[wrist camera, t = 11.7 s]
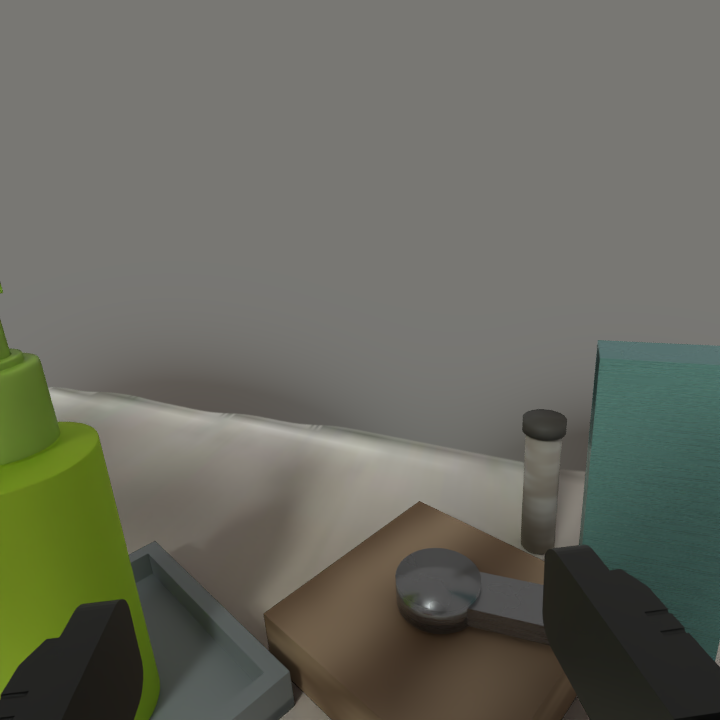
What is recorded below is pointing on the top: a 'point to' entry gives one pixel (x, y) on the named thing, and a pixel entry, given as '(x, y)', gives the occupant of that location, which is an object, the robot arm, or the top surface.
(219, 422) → the top surface
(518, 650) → the crank base
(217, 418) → the top surface
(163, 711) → the tray
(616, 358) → the teal upright panel
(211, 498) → the top surface
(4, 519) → the soap dispenser
